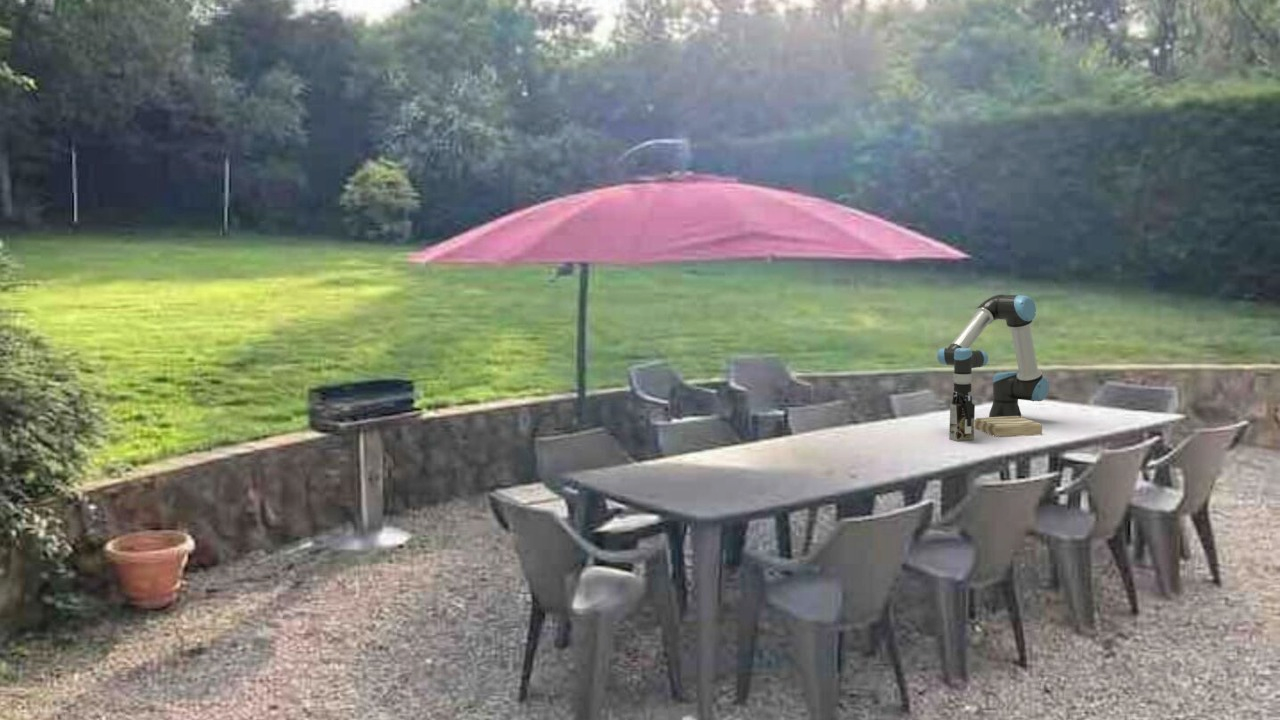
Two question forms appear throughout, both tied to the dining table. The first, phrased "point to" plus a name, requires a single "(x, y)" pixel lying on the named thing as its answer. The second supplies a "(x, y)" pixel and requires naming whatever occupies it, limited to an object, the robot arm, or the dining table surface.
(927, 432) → the dining table surface
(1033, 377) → the robot arm
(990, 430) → the stand
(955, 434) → the coffee box
